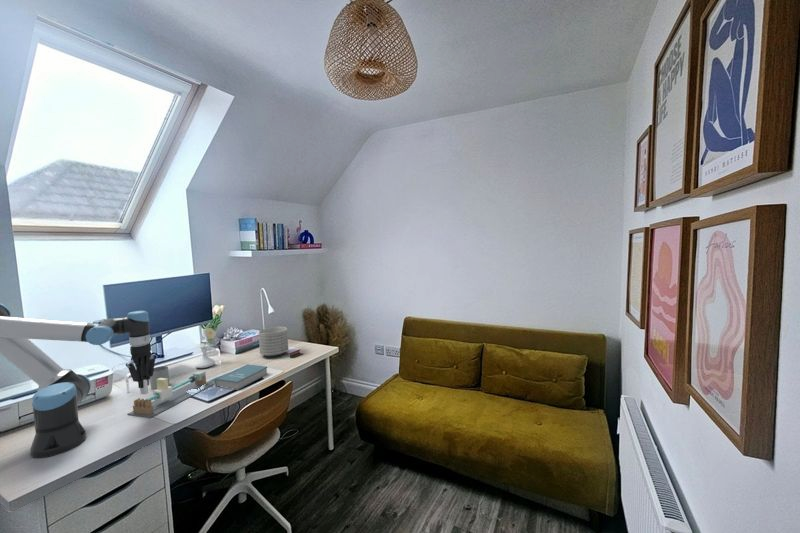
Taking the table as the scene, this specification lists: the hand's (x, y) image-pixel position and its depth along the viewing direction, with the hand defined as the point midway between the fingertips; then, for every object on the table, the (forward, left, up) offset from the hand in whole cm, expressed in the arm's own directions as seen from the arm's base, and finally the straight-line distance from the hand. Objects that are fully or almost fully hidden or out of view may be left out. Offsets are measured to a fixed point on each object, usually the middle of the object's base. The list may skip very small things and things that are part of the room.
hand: (144, 393), depth 151 cm
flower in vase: (+56, +21, -10) cm, 61 cm away
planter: (+83, -11, -10) cm, 85 cm away
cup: (+25, +22, -10) cm, 35 cm away
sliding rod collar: (+9, 0, -6) cm, 11 cm away
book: (+41, -19, -10) cm, 47 cm away
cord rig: (+15, 0, -9) cm, 18 cm away
